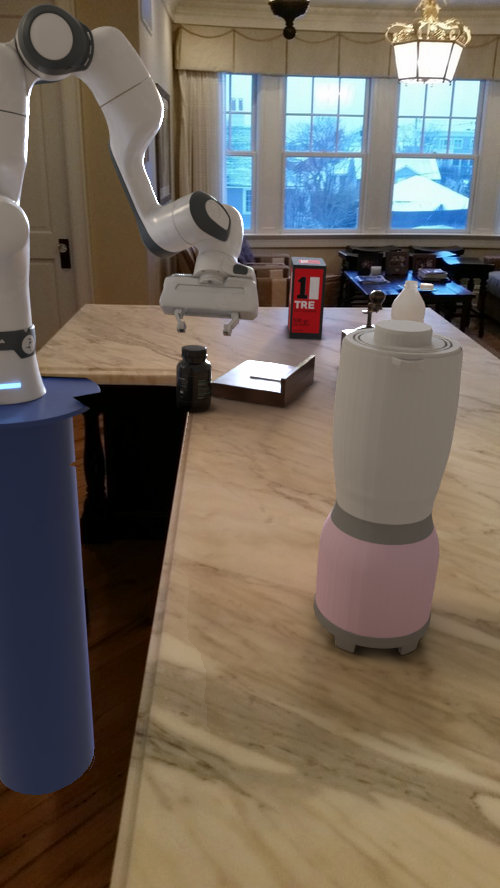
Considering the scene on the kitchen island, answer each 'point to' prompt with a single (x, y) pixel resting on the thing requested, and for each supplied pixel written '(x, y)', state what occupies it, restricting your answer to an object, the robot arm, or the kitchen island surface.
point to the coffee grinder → (369, 311)
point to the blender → (387, 484)
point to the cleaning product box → (306, 297)
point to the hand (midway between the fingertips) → (203, 332)
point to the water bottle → (410, 303)
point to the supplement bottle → (194, 380)
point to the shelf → (265, 382)
